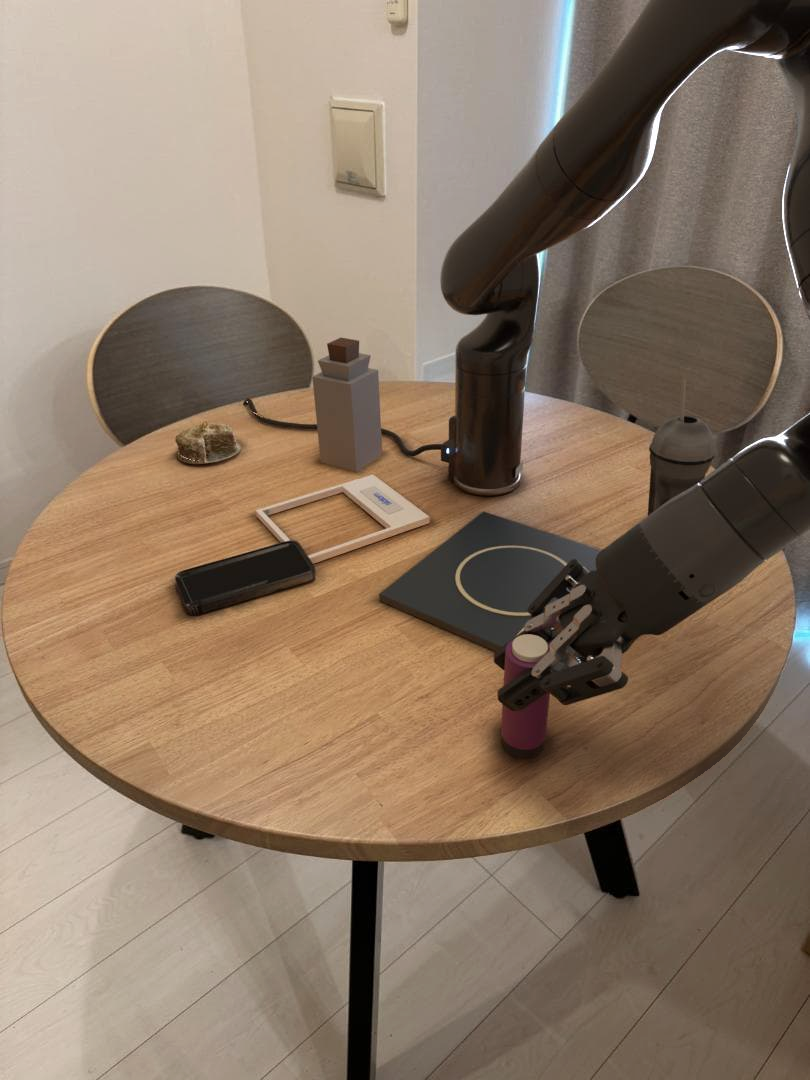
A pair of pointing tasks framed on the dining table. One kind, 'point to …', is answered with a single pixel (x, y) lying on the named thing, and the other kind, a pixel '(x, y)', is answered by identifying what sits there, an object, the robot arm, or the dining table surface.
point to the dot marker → (528, 725)
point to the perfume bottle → (347, 407)
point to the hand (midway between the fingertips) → (503, 682)
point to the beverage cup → (678, 456)
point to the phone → (244, 577)
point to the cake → (207, 443)
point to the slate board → (486, 579)
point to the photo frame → (369, 497)
